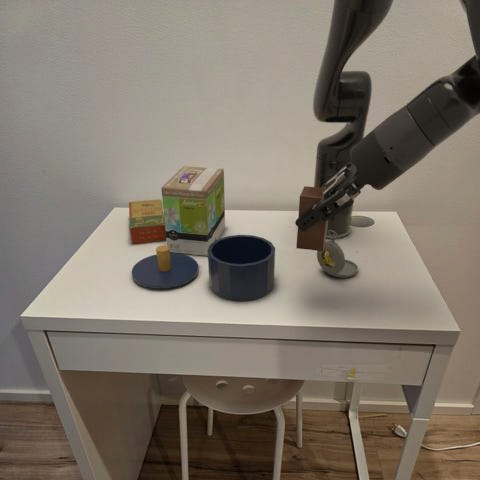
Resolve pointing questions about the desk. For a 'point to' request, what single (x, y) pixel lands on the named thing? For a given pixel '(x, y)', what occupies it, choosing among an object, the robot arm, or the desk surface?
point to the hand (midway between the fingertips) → (301, 220)
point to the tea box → (194, 209)
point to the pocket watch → (335, 260)
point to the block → (317, 232)
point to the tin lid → (165, 269)
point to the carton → (146, 221)
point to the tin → (241, 267)
